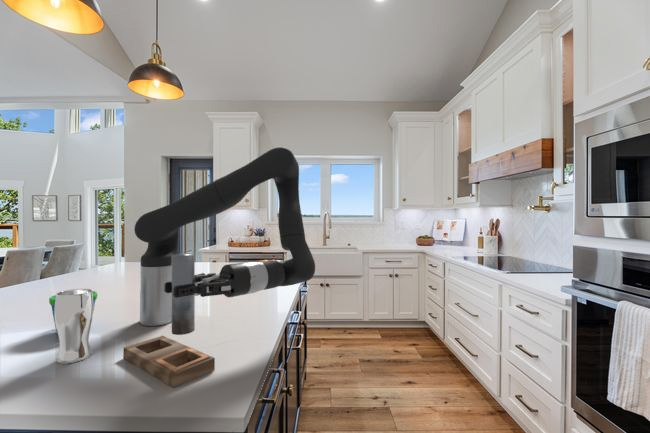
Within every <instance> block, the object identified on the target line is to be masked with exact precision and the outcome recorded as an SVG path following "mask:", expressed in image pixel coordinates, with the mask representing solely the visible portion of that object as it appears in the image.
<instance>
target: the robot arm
mask: <svg viewBox="0 0 650 433" xmlns="http://www.w3.org/2000/svg"><path fill="white" fill-rule="evenodd" d="M271 179H272V180H273V182H274V183H275V186H276V190H277V194H278V203H279V204H278V205H279V206H278V214H277V215H278V216H277V220H278V222H277V223H278V224H277V225H278V232H279V239H280V246H281V248H282V249H283V250H285V251H289V252H290V255H291V257H292V258H290V259H288V260H283V261H277V260H266V261H265V260H263V261H247V262H238V263H229V264H224V265H223V266H222V267H221V269H220V271H219V274H217V273H216V272H209V273H207V274H206V273H203V272H201V273H199V274H195V283H194V285H193V284H185V285H179V286H174V287H173V296H174V297H176V298H178V297H183V296H189V295H193V294H194V295H195V296H196V297H198V296H200V297H203V298H205V297H211V296H212V297H213V296H221V295H224V296H225V297H226V298H234V297H239V296H245V295H248V294H249V295H251V294H256V293H257V292H261V291H265V290H269V289H275V288H278V287H287V286H292V285H293V286H294V285H298V284H301V283H304V282H308V281H310V280H311V279H312V278H313V277H314V275H315V272H316V263H315V259H314V256H313V254H312V252H311V250H310V246H309V245H308V243H307V240H306V234H305V229H304V228H305V227H304V221H303V215H302V210H301V203H300V190H299V187H300V186H299V184H300V182H299V181H300V166H299V162H298V161H297V159H296V157H295V155H294V152H292V151H291V150H290V149H289V148H287V147H284V146H277V147H274V148H271V149H269V150H267V151H266V152H264V153H262V154H261V155H260V156H258V157H257V158H255V159H254V160H252V161H250V162H248V163H247V164H245V165H244V166H242V167H241V166H240V167H239V168H238V169H235V170H234V171H232V172H230V173H228V174H226V175H224V176H221V177H219V178H218V179H214V180H213V181H212V182H209V183H207V184H204V185H203V186H201V187H200V188H198V189H196V190H194V191H192V192H190V193H188V194H186V195H185V196H183V197H182V198H179V199H178V200H176V201H174V202H172V203H169V204H167V205H165V206H163V207H160V208H157V209H155V210H151V211H148V212H145V213H144V214H143V215H141V216H140V217H139V218H138V219H137V221H136V222H135V225H134V233H135V236H136V237H137V239H138V240H140V241H142V242H144V243H147V248H146V250H145V252H144V253H143V254H142V255H141V258H140V287H139V288H140V290H139V292H140V293H139V323H140V325H141V326H145V327H154V326H156V327H157V326H162V325H167V324H170V323H172V258H171V255H172V254H178V245H179V229H180V228H181V227H184V226H186V225H189V224H191V223H194V222H198V221H201V220H205V219H208V218H211V217H214V216H216V215H219V214H221V213H223V212H225V211H227V210H230V209H232V208H233V207H235V206H236V205H237V204H238V203H241V201H242V200H243V199H244V198H245V197H246V196H247V194H249V192H250V191H251V190H252V189H255V187H257V186H259V185H261V184H263V183H265V182H267V181H269V180H271Z"/></svg>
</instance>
